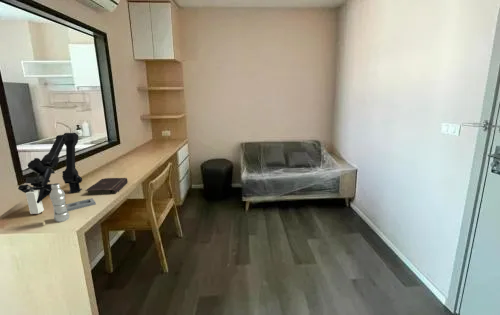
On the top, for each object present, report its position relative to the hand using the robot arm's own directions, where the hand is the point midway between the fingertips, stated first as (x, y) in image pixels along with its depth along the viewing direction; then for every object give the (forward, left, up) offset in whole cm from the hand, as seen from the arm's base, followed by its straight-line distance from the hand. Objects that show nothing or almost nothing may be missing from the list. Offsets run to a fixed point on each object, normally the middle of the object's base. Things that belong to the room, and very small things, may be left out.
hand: (33, 203), depth 147 cm
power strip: (-3, +20, -7) cm, 21 cm away
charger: (-1, 0, -6) cm, 6 cm away
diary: (-31, +30, -8) cm, 44 cm away
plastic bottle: (+14, +17, -7) cm, 23 cm away
